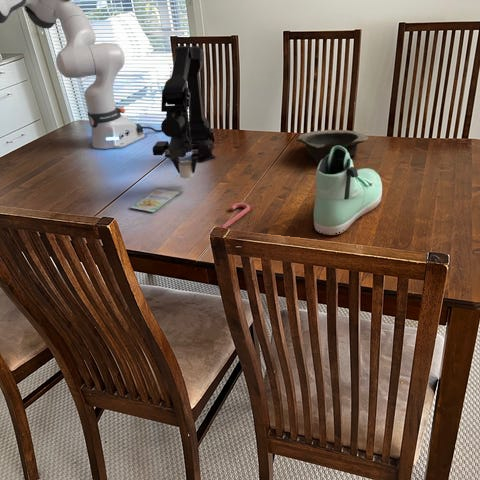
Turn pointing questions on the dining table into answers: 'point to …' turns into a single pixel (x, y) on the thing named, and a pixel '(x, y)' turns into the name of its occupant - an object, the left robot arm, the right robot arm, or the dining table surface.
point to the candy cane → (239, 215)
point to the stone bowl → (331, 142)
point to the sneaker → (343, 192)
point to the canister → (185, 169)
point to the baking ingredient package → (155, 200)
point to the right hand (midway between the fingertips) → (186, 172)
